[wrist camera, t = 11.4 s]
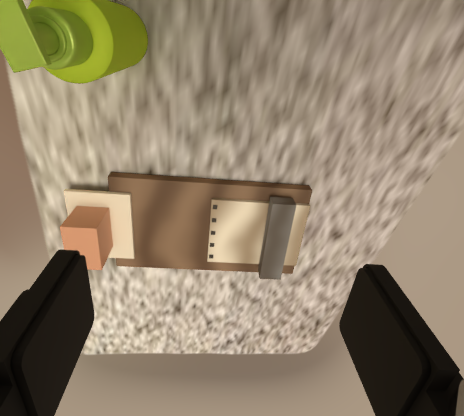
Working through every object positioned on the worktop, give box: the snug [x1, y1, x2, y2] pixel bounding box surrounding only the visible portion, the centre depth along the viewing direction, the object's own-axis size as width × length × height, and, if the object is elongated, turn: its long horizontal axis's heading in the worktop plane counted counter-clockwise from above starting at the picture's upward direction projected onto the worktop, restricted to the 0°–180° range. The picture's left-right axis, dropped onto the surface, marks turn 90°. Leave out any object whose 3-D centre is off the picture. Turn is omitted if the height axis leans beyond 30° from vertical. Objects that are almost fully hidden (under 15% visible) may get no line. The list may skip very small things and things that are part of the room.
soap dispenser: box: [0, 0, 148, 83], centre depth 25 cm, size 6×7×20 cm
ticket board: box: [108, 172, 312, 279], centre depth 43 cm, size 26×14×4 cm, turn 85°
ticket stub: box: [60, 189, 135, 270], centre depth 40 cm, size 8×10×6 cm
